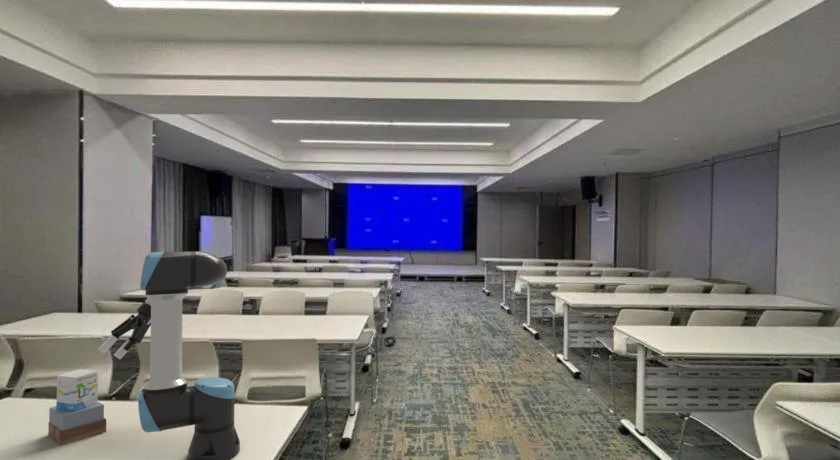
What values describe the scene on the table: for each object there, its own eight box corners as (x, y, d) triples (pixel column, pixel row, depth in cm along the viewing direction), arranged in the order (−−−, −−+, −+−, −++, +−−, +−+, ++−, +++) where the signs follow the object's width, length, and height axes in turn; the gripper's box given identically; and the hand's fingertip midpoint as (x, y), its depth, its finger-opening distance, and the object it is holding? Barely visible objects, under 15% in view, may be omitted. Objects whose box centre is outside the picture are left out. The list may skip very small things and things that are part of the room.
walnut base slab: (106, 433, 159) (106, 419, 159) (60, 447, 148) (60, 432, 148) (92, 423, 167) (92, 410, 167) (48, 436, 156) (48, 422, 156)
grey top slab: (103, 419, 159) (103, 404, 159) (62, 431, 149) (62, 416, 149) (89, 411, 166) (90, 397, 166) (49, 422, 156) (49, 407, 156)
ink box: (74, 412, 153) (74, 377, 153) (55, 409, 155) (55, 375, 155) (98, 402, 161) (98, 370, 161) (79, 400, 163) (80, 368, 163)
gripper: (175, 317, 173) (132, 365, 161) (144, 310, 187) (102, 354, 175) (160, 305, 169) (115, 353, 156) (130, 299, 183) (86, 343, 171)
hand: (108, 354), depth 166 cm, fingers open, 13 cm apart
